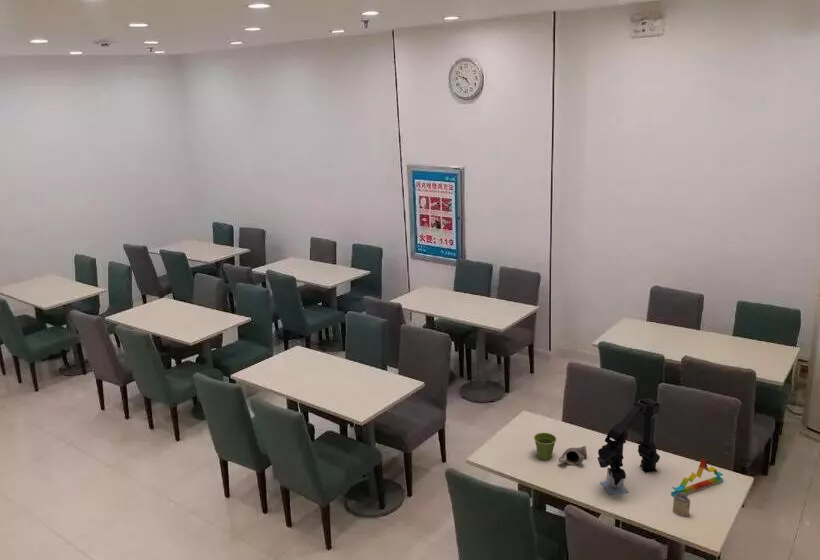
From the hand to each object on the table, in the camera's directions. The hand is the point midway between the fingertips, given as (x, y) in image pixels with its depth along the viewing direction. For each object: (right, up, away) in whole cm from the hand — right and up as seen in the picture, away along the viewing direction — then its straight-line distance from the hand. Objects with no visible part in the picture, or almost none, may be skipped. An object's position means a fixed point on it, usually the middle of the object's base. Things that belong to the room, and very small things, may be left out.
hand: (614, 480), depth 317 cm
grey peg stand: (0, -4, +1) cm, 4 cm away
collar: (0, -1, 0) cm, 1 cm away
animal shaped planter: (-14, +2, +25) cm, 28 cm away
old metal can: (+24, -9, -19) cm, 32 cm away
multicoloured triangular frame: (+40, -4, -1) cm, 40 cm away
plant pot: (-28, +3, +30) cm, 41 cm away
